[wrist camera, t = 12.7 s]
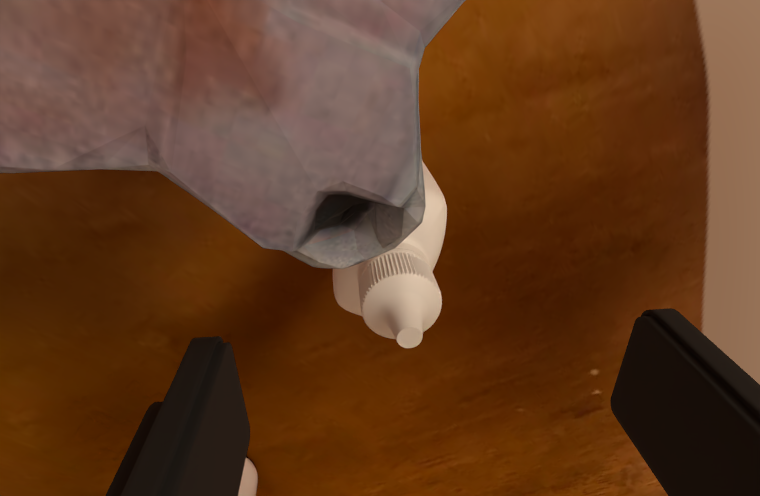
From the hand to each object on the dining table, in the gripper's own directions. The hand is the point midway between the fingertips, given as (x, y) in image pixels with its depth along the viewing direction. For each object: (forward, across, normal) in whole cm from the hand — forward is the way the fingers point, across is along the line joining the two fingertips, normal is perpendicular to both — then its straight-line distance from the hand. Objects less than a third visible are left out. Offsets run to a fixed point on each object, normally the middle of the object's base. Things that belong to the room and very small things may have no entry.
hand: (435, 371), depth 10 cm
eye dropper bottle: (+14, +1, 0) cm, 14 cm away
